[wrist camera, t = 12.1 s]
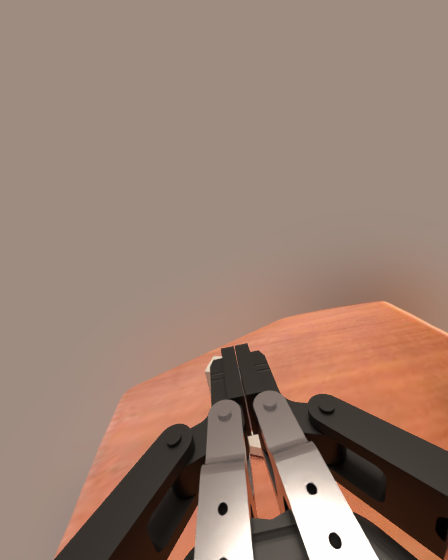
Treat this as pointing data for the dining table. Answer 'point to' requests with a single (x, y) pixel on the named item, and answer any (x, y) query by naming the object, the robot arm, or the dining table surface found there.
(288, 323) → the dining table surface
